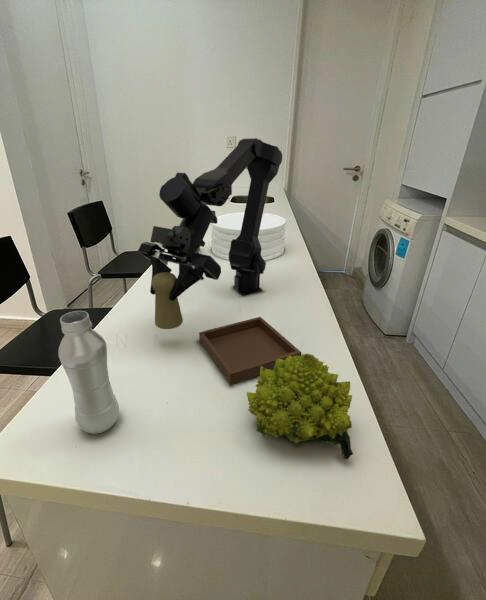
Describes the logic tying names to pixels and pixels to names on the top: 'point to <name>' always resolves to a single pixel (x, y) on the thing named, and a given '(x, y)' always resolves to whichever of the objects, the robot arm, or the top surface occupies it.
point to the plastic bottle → (87, 373)
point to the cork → (166, 302)
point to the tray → (245, 348)
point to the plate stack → (231, 227)
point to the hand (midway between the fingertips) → (161, 296)
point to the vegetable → (302, 402)
